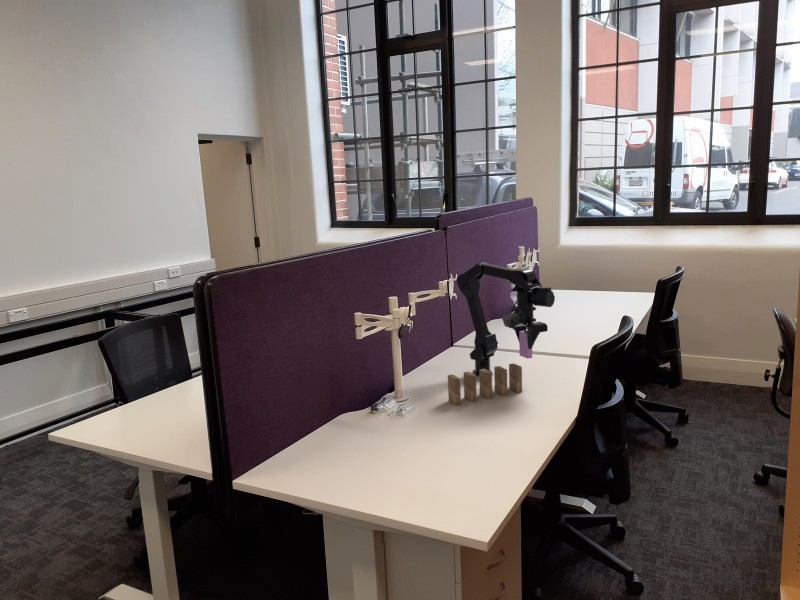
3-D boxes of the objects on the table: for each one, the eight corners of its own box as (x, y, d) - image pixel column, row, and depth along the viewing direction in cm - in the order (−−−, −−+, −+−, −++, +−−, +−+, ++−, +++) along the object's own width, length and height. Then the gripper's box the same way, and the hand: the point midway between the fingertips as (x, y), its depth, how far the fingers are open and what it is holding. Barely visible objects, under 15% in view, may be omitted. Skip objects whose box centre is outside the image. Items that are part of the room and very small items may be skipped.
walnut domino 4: (499, 390, 214) (499, 365, 212) (507, 394, 209) (507, 369, 208) (494, 391, 213) (494, 366, 212) (502, 395, 209) (502, 370, 207)
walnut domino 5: (514, 387, 216) (513, 363, 214) (522, 391, 212) (521, 366, 210) (509, 388, 215) (508, 364, 214) (517, 392, 211) (516, 367, 209)
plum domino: (524, 354, 222) (523, 330, 221) (532, 357, 218) (532, 333, 216) (519, 355, 222) (519, 331, 220) (527, 358, 217) (527, 334, 215)
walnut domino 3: (484, 393, 212) (484, 368, 210) (492, 397, 207) (491, 372, 205) (479, 394, 211) (479, 369, 209) (487, 398, 206) (486, 373, 205)
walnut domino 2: (469, 396, 210) (468, 371, 208) (476, 401, 205) (476, 375, 203) (464, 397, 209) (463, 372, 207) (471, 402, 204) (470, 376, 203)
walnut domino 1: (453, 399, 207) (453, 374, 206) (460, 404, 203) (460, 378, 201) (448, 400, 207) (447, 375, 205) (455, 405, 202) (454, 379, 200)
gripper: (491, 303, 222) (492, 344, 224) (520, 311, 205) (521, 356, 207) (517, 299, 226) (518, 340, 229) (548, 307, 209) (548, 351, 212)
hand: (525, 347), depth 219 cm, fingers closed on plum domino, 5 cm apart
